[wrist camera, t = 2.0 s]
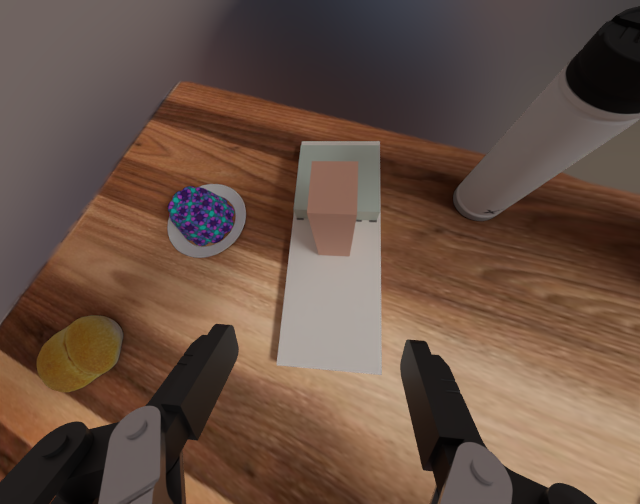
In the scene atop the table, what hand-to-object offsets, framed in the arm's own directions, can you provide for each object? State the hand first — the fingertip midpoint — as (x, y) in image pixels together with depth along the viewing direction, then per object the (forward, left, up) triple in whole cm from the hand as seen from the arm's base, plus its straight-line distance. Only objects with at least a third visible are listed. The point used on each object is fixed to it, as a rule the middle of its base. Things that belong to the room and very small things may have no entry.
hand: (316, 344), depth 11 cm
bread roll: (+24, -20, -19) cm, 37 cm away
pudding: (+2, -24, -19) cm, 31 cm away
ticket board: (-9, -8, -18) cm, 22 cm away
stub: (-9, -8, -17) cm, 21 cm away
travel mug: (-27, +2, -19) cm, 33 cm away
